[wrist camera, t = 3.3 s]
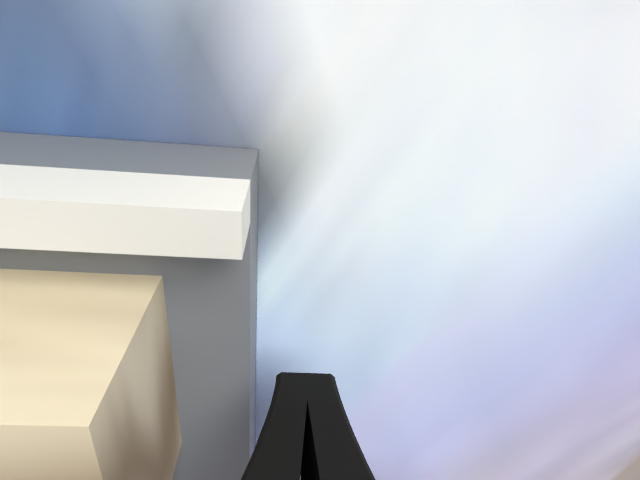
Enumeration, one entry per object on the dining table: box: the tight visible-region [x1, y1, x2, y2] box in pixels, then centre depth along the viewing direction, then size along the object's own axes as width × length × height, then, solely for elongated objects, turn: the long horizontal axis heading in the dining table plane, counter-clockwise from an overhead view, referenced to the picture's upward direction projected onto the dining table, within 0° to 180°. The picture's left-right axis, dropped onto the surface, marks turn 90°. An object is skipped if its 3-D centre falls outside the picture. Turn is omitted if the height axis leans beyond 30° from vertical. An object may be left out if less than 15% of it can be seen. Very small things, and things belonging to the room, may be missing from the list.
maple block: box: [0, 269, 182, 480], centre depth 10 cm, size 6×6×4 cm
